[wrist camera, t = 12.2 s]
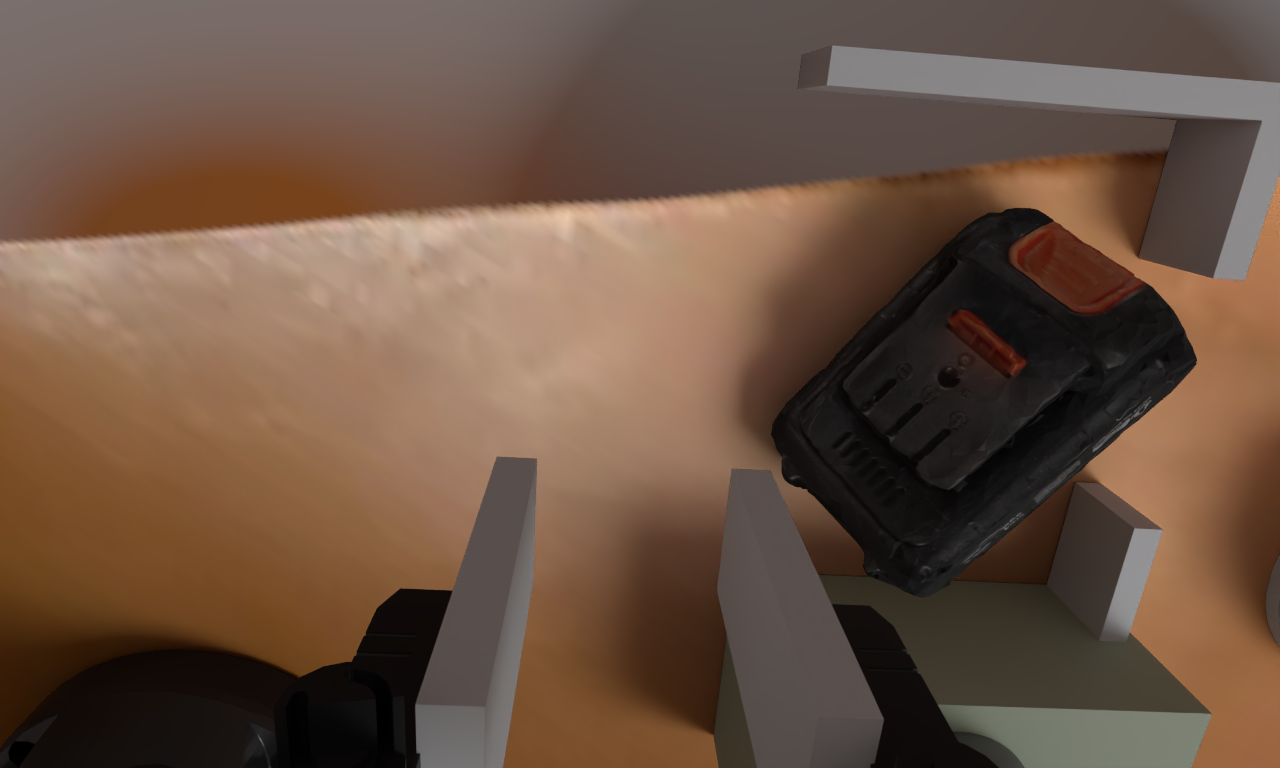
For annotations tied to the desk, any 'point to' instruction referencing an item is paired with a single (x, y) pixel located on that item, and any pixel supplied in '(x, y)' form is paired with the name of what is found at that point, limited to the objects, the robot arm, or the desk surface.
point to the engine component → (1274, 601)
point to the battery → (978, 395)
